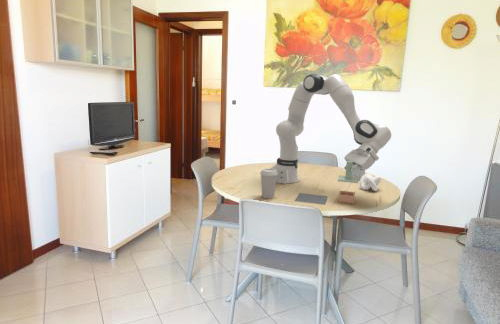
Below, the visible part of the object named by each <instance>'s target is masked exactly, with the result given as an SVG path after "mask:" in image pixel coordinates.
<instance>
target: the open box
mask: <svg viewBox="0 0 500 324" xmlns="http://www.w3.org/2000/svg"><path fill="white" fill-rule="evenodd" d="M355 195H356V192H355V191H347V190H339V193H338V198H337V199H338V201H337V202H338V203H343V204H349V205H354V206H355V199H356V198H355Z"/></svg>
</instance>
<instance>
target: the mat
mask: <svg viewBox="0 0 500 324" xmlns="http://www.w3.org/2000/svg"><path fill="white" fill-rule="evenodd" d="M328 197H329V196H328V195H320V194H314V193H313V194H311V193H303V192H298V194H297V196H296V197H295V199H294V202H300V203H308V204H314V205H315V204H316V205H326V204H327V200H328Z"/></svg>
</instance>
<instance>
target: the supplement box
mask: <svg viewBox="0 0 500 324" xmlns="http://www.w3.org/2000/svg"><path fill="white" fill-rule="evenodd" d="M354 166H355V165H353V164H352V168H353V167H354ZM365 174H366V170H365V169H362V168H359V169H357V170H355V171H354V172H352V177H358V181H360V179H361V177H362V176H363V175H365Z"/></svg>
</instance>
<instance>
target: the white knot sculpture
mask: <svg viewBox="0 0 500 324" xmlns="http://www.w3.org/2000/svg"><path fill="white" fill-rule="evenodd" d="M381 178H382V177H381V176H379V175H376V176H373V175H372V174H370V173H365V175H363V176H362V177H361V179H360V180H359V187H360V188H361V189H362V190H363V191H368V190H370V189H371V190H372V191H373V192H377V191H378V190H379V187H378V185H379V184H380V182H381V180H382V179H381Z"/></svg>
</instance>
